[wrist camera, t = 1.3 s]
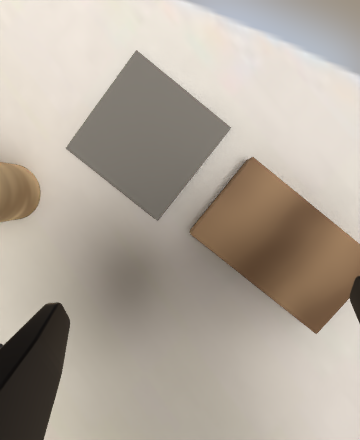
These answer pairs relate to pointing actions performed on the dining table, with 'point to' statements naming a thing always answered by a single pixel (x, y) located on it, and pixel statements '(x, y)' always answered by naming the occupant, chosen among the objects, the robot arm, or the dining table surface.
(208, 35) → the dining table surface
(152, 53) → the dining table surface
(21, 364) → the robot arm
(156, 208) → the support pad
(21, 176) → the birch roller
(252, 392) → the dining table surface
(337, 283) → the walnut slab
